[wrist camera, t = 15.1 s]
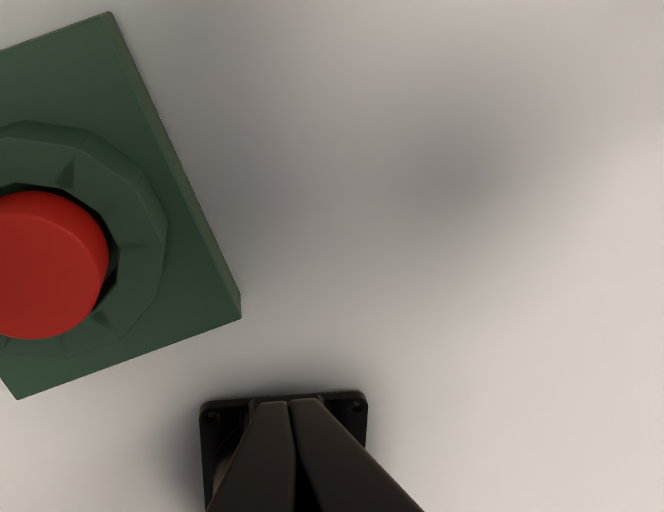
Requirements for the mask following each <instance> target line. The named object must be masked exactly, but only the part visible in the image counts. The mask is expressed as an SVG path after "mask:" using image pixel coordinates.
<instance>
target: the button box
mask: <svg viewBox="0 0 664 512" xmlns="http://www.w3.org/2000/svg"><path fill="white" fill-rule="evenodd" d="M21 191H43V192H48V193H53V194H56V195H59V196H62V197H64V198H67V199H69V200H71V201H73V202H74V203H76V204H78V205H79V206H80V207H82V208H83V209H84V210H86V211H87V212H88V213H89V214H90V215H91V216H92V217H93V218H94V219H95V221H96V222H97V223H98V225H99V226H100V228H101V229H102V231H103V233H104V235H105V238H106V241H107V244H108V250H109V264H108V269H107V272H106V275H105V278H104V281H103V284H102V286H101V289H100V292H99V295H98V297H97V300H96V303H95V305H94V307H93V309H92V310H91V311H90V313H89V314H88V316H87V317H86V318H85V319H84V320H83V321H82V322H80V323H79V324H78V325H77V326H75V327H74V328H72V329H70V330H69V331H66V332H64V333H62V334H59V335H56V336H53V337H49V338H43V339H19V338H13V337H9V336H4V335H2V334H0V378H1V379H2V381H3V382H4V383H5V385H6V386H7V388H8V389H9V390H10V392H11V393H12V395H13V396H14V397H15V399H16V400H20V399H23V398H25V397H28V396H31V395H34V394H36V393H39V392H42V391H45V390H47V389H50V388H53V387H55V386H58V385H61V384H64V383H66V382H69V381H72V380H75V379H77V378H80V377H83V376H86V375H88V374H91V373H94V372H97V371H99V370H102V369H105V368H107V367H110V366H113V365H116V364H118V363H121V362H124V361H127V360H129V359H132V358H135V357H138V356H140V355H143V354H146V353H149V352H151V351H154V350H157V349H159V348H162V347H165V346H168V345H170V344H173V343H176V342H179V341H181V340H184V339H187V338H190V337H192V336H195V335H198V334H201V333H203V332H206V331H209V330H211V329H214V328H217V327H220V326H222V325H225V324H228V323H231V322H233V321H236V320H239V319H241V317H242V315H241V297H240V292H239V290H238V288H237V286H236V283H235V281H234V279H233V277H232V275H231V272H230V270H229V268H228V266H227V264H226V262H225V259H224V257H223V255H222V253H221V251H220V248H219V246H218V244H217V242H216V240H215V238H214V235H213V233H212V231H211V229H210V227H209V224H208V222H207V220H206V218H205V216H204V214H203V211H202V209H201V207H200V205H199V203H198V200H197V198H196V196H195V194H194V192H193V190H192V187H191V185H190V183H189V181H188V179H187V176H186V174H185V172H184V170H183V168H182V165H181V163H180V161H179V159H178V157H177V155H176V152H175V150H174V148H173V146H172V144H171V141H170V139H169V137H168V135H167V133H166V131H165V128H164V126H163V124H162V122H161V120H160V117H159V115H158V113H157V111H156V109H155V107H154V104H153V102H152V100H151V98H150V96H149V93H148V91H147V89H146V87H145V85H144V83H143V80H142V78H141V76H140V74H139V72H138V69H137V67H136V65H135V63H134V61H133V59H132V56H131V54H130V52H129V50H128V48H127V45H126V43H125V41H124V39H123V37H122V34H121V32H120V30H119V28H118V26H117V24H116V21H115V19H114V17H113V15H112V13H111V12H105V13H102V14H99V15H97V16H94V17H91V18H88V19H86V20H83V21H80V22H77V23H75V24H72V25H69V26H67V27H64V28H61V29H58V30H56V31H53V32H50V33H47V34H45V35H42V36H39V37H36V38H34V39H31V40H28V41H25V42H23V43H20V44H17V45H14V46H12V47H9V48H6V49H4V50H1V51H0V197H2V196H5V195H8V194H11V193H15V192H21Z"/></svg>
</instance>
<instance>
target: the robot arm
mask: <svg viewBox="0 0 664 512" xmlns="http://www.w3.org/2000/svg"><path fill="white" fill-rule="evenodd" d="M355 402H357V403H359V404H358V405H357V406H354V407H353V406H350V405H351V404H352V403H355ZM210 413H216V414H218V415H217V416H215V417H210V416H208V414H210ZM367 414H368V404H367V400H366V397H365V396H364V394H363V393H361V392H359V391H348V392H333V393H319V394H303V395H288V396H274V397H260V398H248V399H234V400H219V401H210V402H207V403H205V404H203V405H202V407H201V408H200V412H199V425H200V439H201V454H202V468H203V482H204V497H205V511H206V512H424V511H423V510H422V509H421V508H420V506H419V505H418V504H417V503H416V502H415V501H414V500H413V499H412V498H411V497H410V496H409V495H408V494H407V493H406V492H405V491H404V490H403V489H402V488H401V487H400V485H399V484H398V483H397V482H396V481H395V480H394V479H393V478H392V477H391V476H390V475H389V474H388V473H387V472H386V471H385V470H384V469H383V468H382V467H381V465H380V464H379V463H378V462H377V461H376V460H375V459H374V458H373V457H372V456H371V455H370V454H369V453H368V452H367V451H366V450H365V442H366V428H367Z"/></svg>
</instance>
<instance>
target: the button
mask: <svg viewBox="0 0 664 512" xmlns="http://www.w3.org/2000/svg"><path fill="white" fill-rule="evenodd" d="M108 264H109V250H108V244H107V241H106V238H105V235H104V233H103V231H102V229H101V228H100V226H99V225H98V223H97V222H96V221H95V219H94V218H93V217H92V216H91V215H90V214H89V213H88V212H87V211H86V210H84V209H83V208H82V207H80V206H79V205H78V204H76V203H74V202H73V201H71V200H69V199H67V198H64V197H62V196H59V195H56V194H53V193H48V192H43V191H21V192H15V193H11V194H8V195H5V196H2V197H0V334H2V335H4V336H9V337H13V338H19V339H43V338H49V337H53V336H56V335H59V334H62V333H64V332H66V331H69V330H70V329H72V328H74V327H75V326H77V325H78V324H79V323H80V322H82V321H83V320H84V319H85V318H86V317H87V316H88V314H89V313H90V311H91V310H92V309H93V307H94V305H95V303H96V300H97V297H98V295H99V292H100V289H101V286H102V284H103V281H104V278H105V275H106V272H107V269H108Z"/></svg>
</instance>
